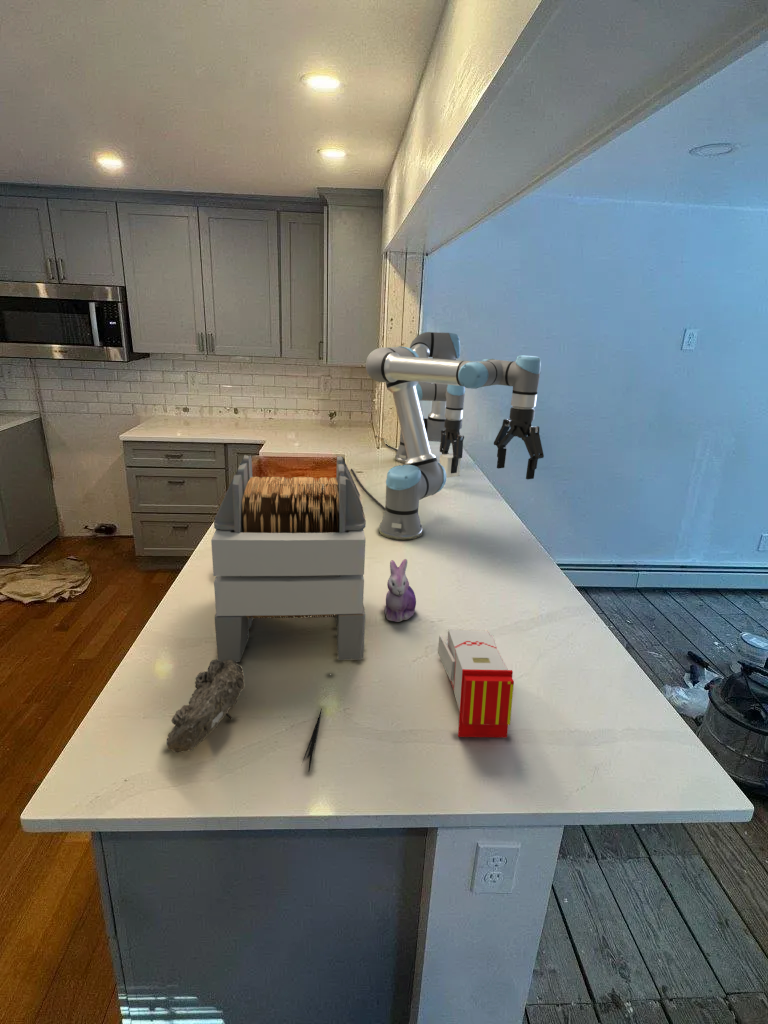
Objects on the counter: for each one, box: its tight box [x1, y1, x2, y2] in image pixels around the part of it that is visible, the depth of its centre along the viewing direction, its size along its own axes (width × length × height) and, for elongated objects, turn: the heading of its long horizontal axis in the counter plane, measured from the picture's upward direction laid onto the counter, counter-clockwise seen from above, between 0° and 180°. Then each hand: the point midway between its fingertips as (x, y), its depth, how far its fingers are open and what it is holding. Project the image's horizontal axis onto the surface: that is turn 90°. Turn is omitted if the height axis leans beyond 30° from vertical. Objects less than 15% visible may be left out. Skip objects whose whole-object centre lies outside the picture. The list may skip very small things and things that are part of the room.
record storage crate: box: [210, 454, 366, 663], centre depth 134 cm, size 34×33×41 cm
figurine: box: [384, 558, 417, 623], centre depth 145 cm, size 9×10×15 cm
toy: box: [437, 628, 515, 738], centre depth 117 cm, size 12×13×30 cm
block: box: [439, 452, 462, 479], centre depth 250 cm, size 7×6×9 cm
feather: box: [301, 673, 332, 771], centre depth 108 cm, size 2×28×2 cm
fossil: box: [166, 659, 245, 754], centre depth 106 cm, size 22×10×15 cm
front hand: (514, 473), depth 183 cm, fingers open, 13 cm apart
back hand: (449, 470), depth 251 cm, fingers closed on block, 6 cm apart
